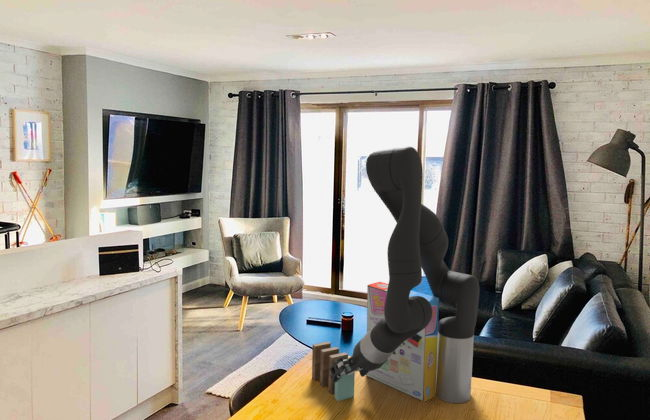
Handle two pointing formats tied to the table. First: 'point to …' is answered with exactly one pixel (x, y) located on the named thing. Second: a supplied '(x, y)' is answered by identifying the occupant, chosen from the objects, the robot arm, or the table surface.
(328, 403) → the table surface
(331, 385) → the domino
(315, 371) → the domino
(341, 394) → the teal domino
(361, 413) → the table surface
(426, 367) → the game box
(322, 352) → the domino
